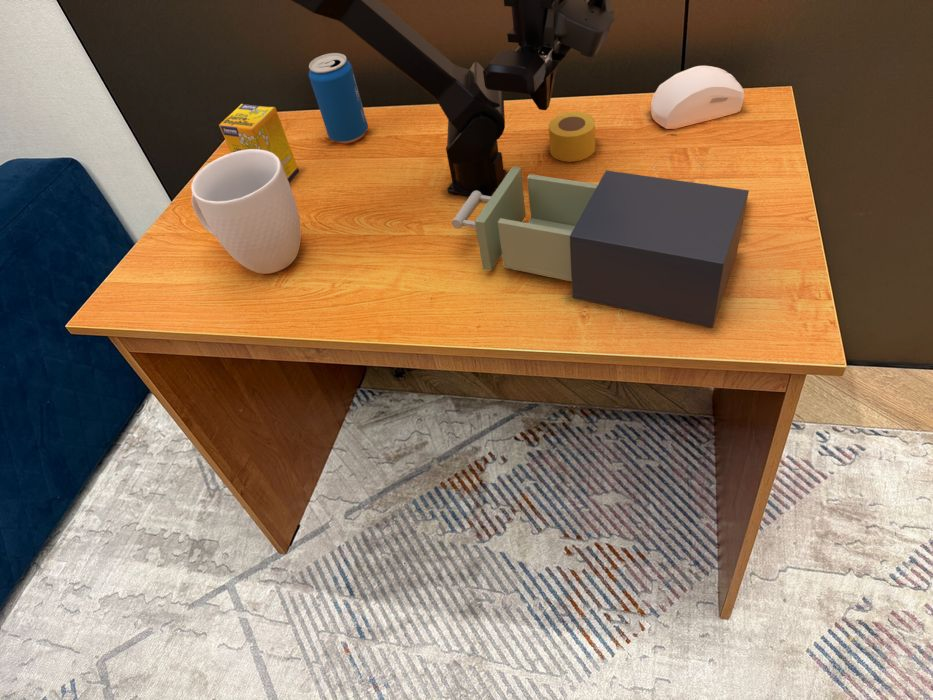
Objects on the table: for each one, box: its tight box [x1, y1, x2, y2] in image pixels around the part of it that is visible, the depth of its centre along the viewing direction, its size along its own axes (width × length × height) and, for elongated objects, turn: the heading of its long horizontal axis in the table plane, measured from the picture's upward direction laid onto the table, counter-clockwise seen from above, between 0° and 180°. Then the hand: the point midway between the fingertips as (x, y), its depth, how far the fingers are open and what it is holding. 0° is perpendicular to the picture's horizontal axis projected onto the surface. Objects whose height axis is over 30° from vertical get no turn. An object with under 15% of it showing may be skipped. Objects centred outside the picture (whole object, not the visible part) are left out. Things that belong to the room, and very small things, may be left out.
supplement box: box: [218, 103, 300, 183], centre depth 101 cm, size 6×6×11 cm
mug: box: [190, 149, 302, 275], centre depth 88 cm, size 15×11×13 cm
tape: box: [548, 111, 596, 163], centre depth 98 cm, size 6×6×4 cm
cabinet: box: [570, 170, 750, 329], centre depth 76 cm, size 16×12×9 cm
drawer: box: [451, 166, 599, 283], centre depth 82 cm, size 19×11×7 cm, turn 64°
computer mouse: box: [650, 65, 745, 130], centre depth 99 cm, size 6×13×6 cm, turn 102°
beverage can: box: [308, 52, 369, 144], centre depth 106 cm, size 6×6×12 cm
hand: (543, 108), depth 88 cm, fingers closed
